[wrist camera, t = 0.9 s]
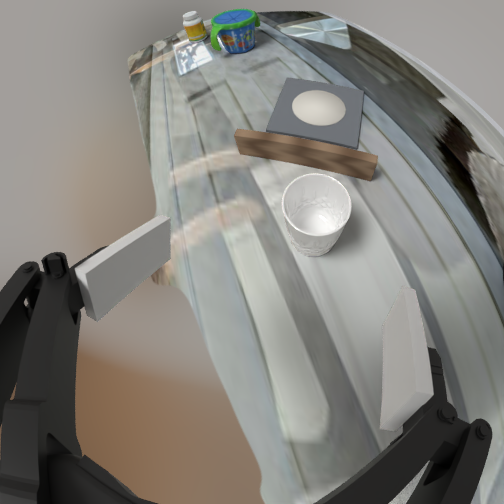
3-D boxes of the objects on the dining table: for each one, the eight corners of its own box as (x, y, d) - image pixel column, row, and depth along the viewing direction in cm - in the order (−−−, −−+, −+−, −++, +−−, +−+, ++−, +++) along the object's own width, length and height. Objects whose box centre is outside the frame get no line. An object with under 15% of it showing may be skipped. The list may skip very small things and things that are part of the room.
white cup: (292, 204, 42) (290, 167, 33) (344, 216, 40) (355, 181, 31) (279, 253, 40) (273, 226, 31) (334, 266, 38) (345, 243, 29)
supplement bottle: (188, 39, 63) (178, 14, 54) (205, 32, 63) (197, 8, 54) (191, 45, 62) (181, 19, 53) (209, 39, 61) (200, 13, 52)
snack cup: (248, 31, 60) (241, 3, 50) (276, 40, 57) (272, 9, 47) (204, 56, 58) (193, 26, 49) (231, 66, 55) (221, 32, 45)
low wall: (371, 173, 42) (377, 155, 37) (370, 181, 41) (377, 163, 36) (242, 147, 47) (237, 128, 42) (240, 154, 46) (234, 135, 42)
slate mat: (363, 93, 47) (363, 90, 46) (356, 149, 43) (357, 146, 43) (287, 79, 51) (286, 76, 50) (266, 131, 47) (265, 129, 46)
